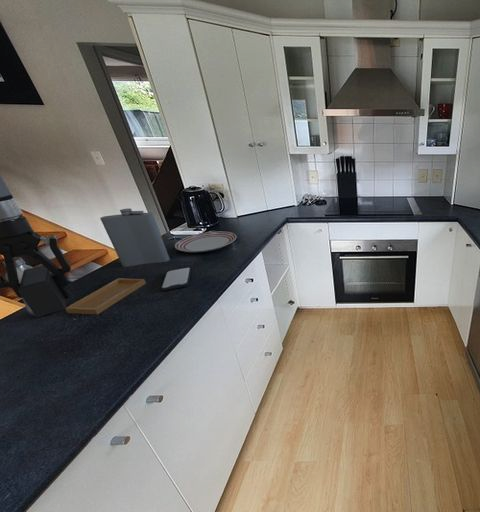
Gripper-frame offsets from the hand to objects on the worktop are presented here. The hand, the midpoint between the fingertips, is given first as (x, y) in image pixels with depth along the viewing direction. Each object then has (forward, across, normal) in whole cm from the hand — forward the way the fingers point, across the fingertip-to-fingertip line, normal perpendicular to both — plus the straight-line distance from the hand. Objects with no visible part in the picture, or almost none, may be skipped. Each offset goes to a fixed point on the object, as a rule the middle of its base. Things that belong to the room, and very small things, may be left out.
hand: (51, 300), depth 73 cm
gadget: (0, 0, 0) cm, 0 cm away
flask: (+15, +23, +48) cm, 55 cm away
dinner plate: (+15, +48, +49) cm, 71 cm away
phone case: (+15, +29, +20) cm, 38 cm away
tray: (+15, +8, +24) cm, 29 cm away
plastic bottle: (+15, -7, +26) cm, 31 cm away
